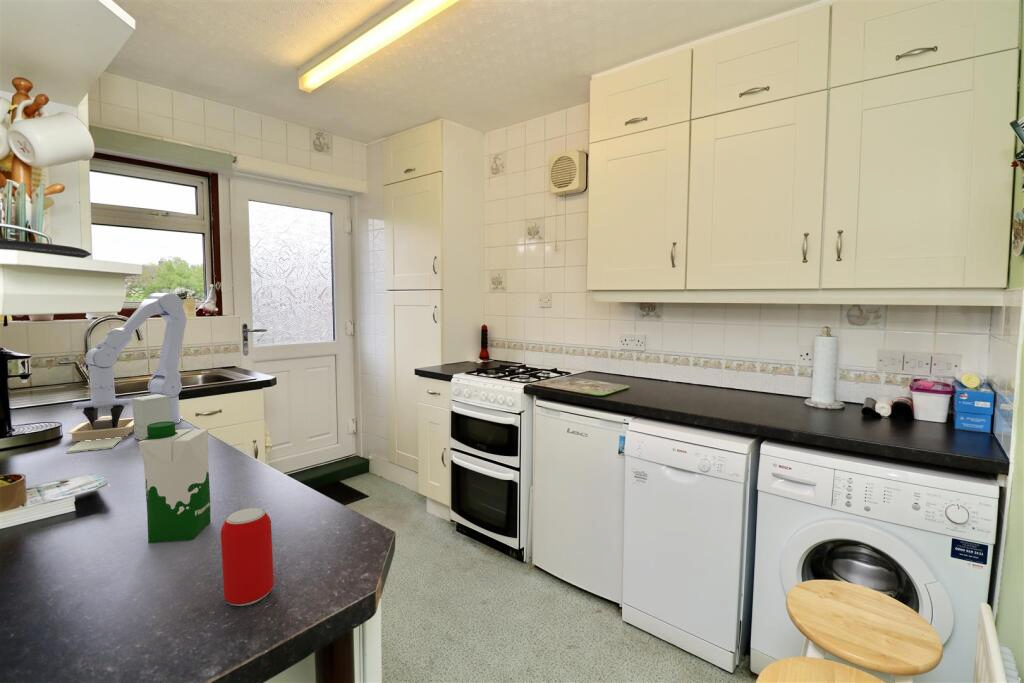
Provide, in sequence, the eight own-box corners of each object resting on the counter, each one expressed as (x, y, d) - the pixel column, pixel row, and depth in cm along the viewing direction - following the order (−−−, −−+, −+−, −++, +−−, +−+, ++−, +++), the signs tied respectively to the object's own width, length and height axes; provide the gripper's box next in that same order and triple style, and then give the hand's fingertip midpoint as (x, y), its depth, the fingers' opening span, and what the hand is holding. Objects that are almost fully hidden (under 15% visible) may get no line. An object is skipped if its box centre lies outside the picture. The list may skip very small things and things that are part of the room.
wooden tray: (83, 431, 155) (83, 422, 155) (142, 425, 162) (141, 417, 161) (65, 443, 141) (64, 433, 141) (130, 437, 148) (129, 427, 148)
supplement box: (173, 436, 149) (170, 396, 148) (144, 442, 143) (141, 400, 142) (161, 433, 153) (159, 393, 152) (133, 438, 147) (131, 397, 146)
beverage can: (214, 603, 67) (209, 519, 66) (254, 580, 73) (250, 502, 72) (245, 615, 65) (240, 528, 64) (283, 589, 70) (280, 509, 69)
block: (102, 431, 154) (101, 416, 154) (118, 430, 156) (117, 415, 156) (94, 438, 147) (92, 422, 147) (110, 436, 149) (109, 420, 148)
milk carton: (166, 523, 91) (160, 418, 89) (218, 519, 93) (213, 416, 91) (138, 546, 83) (131, 431, 81) (197, 542, 84) (190, 428, 82)
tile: (79, 443, 142) (79, 441, 142) (122, 439, 146) (122, 437, 146) (66, 453, 133) (66, 451, 133) (112, 448, 137) (112, 446, 137)
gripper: (67, 391, 143) (70, 436, 144) (128, 387, 149) (131, 430, 151) (75, 387, 149) (79, 430, 151) (134, 383, 156) (137, 425, 157)
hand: (105, 430), depth 151 cm, fingers closed on block, 4 cm apart
